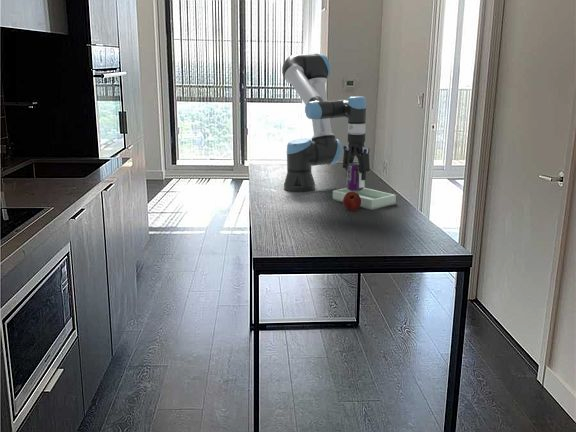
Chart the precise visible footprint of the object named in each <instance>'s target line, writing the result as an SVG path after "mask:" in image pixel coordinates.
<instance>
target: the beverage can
mask: <svg viewBox="0 0 576 432" xmlns="http://www.w3.org/2000/svg"><path fill="white" fill-rule="evenodd" d="M363 170H364V169H363ZM360 172H361V171H360V167H359V162H358V161H357V162H356V161H353V162H351V163H349V165H348V168H347V177H346V188H347V189H348V190H350V191H355V192H356V191H361V190H363V188H364V187H362V188H359V173H360Z"/></svg>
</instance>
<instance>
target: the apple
mask: <svg viewBox="0 0 576 432" xmlns="http://www.w3.org/2000/svg"><path fill="white" fill-rule="evenodd" d="M360 205H361V198H360V196H359V195H358V194H357V193H356V192H348V193H347V194H346V195H345V196H344V199H343V202H342V206H343V208H344V209H345V210H347V211H348V212H349V211H350V212H353V211H357V210H358V209H359V208H361V207H360Z"/></svg>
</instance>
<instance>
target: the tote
mask: <svg viewBox="0 0 576 432" xmlns="http://www.w3.org/2000/svg"><path fill="white" fill-rule="evenodd" d="M348 192H355V191H350V190H348V189H347V187H344V188H340V189H339V188H338V189H335V190H332V200H333V201H337V202H341V203H343V199H344V196H345V195H346V194H347V193H348ZM356 193H357V194H358V195H359V196H360V198H361V205H360V207H359V208H364V209H366V210H371V211H373V210H377V209H382V208H385V207H388V206H389V207H390V206H393V205H396V201H397V200H396V197H397V194H393V193H389V192H385V191H380V190H376V189H373V188H372V189H371V188H366V187H363V190H361V191H356Z"/></svg>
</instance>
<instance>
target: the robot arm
mask: <svg viewBox="0 0 576 432" xmlns="http://www.w3.org/2000/svg"><path fill="white" fill-rule="evenodd" d="M328 58H329V57H328V56H326V55H325V54H323V53H301V54H300V53H296V54H293V55H290V56H288V57H287V58H286V59H285V60H284V62H283V64H282V67H281V69H282V70H281V73H282V77H283V78H284V80H285V81H286V83H288V84H290V85H291V86H292V88H293V89H294V91H296V93H297V95H298V97H299V98H300V100H301V101H302V102H303V103H304V105H305V106H304V113H305V116H306V118H308V119H309V120H311V123H312V130H313V136H312V137H311V138H297V139H294V140H290V141H289V142H288V143H287V145H286V163H287V164H286V165H287V166H286V167H287V169H286V170H287V171H286V176H285V180H284V183H283V189H284V190H285V191H288V192H309V191H313V190H315V189H316V182H315V179H314V175H313V174H312V172H313V171H312V167H314V166H325V165H327V166H330V165H334V164H337V163H338V162H339V161H340V159H341V156H342V151H343V159H342V169H344V170H345V177H346V178H347V168H348V165H349V163H351V162H355V156H356V159H357V162H359V167H360V171H361V172H360V173H359V188H362V187H363V188H366V187H365V186H366V184H365V183H366V179H367V178H366V177H367V176H366V175H367V173H369V172H370V171H371V170H370V169H371V168H370V150H371V149H370V148H369V147H368V148H367V147H365V142H366V134H365V133H366V121H367V120H366V118H367V98H366V97H365V96H361V95H360V96H358V95H356V96H354V95H353V96H349V97H348V99H337V100H328V97H327V88H326V83H328V78H329V77H330V76H331V70H332V66H331V63H330V60H329V59H328ZM339 118H340V119H342V118H343V119H344V118H345V119H346V118H347V143H348V144H346V145H343V150H342V143H341V141H340V140H339V139H337V138H336V135H335V134H334V132H332V126H331V119H339ZM363 169H364V170H363Z"/></svg>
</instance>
